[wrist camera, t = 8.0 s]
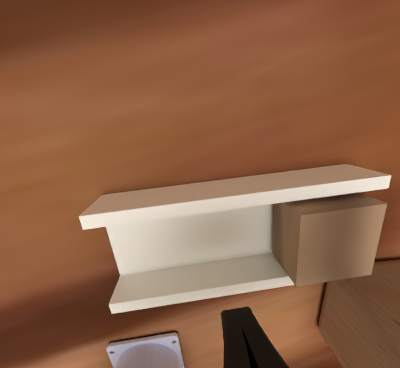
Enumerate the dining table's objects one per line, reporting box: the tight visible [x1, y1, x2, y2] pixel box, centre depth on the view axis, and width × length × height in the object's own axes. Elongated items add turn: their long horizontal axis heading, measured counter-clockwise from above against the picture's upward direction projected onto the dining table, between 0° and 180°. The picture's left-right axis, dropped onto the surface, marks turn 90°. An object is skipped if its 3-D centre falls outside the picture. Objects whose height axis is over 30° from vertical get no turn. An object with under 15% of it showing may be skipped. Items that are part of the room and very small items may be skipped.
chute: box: [79, 164, 391, 314], centre depth 16 cm, size 22×9×4 cm, turn 96°
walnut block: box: [272, 192, 387, 287], centre depth 15 cm, size 6×6×4 cm
